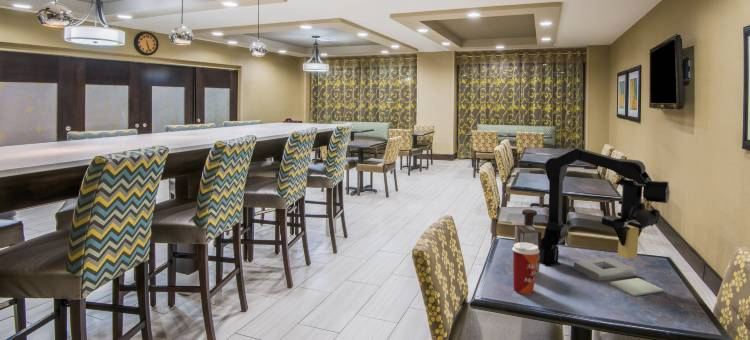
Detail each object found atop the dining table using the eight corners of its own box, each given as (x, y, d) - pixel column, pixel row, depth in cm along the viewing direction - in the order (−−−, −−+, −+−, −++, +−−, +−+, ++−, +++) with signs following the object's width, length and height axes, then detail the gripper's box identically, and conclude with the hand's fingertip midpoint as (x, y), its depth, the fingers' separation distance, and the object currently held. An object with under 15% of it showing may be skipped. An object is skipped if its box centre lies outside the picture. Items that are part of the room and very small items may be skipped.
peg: (627, 258, 159) (629, 229, 157) (617, 255, 163) (619, 226, 161) (636, 257, 160) (638, 228, 159) (626, 253, 164) (629, 225, 162)
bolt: (533, 244, 200) (535, 209, 198) (535, 248, 196) (538, 212, 193) (518, 243, 201) (521, 209, 198) (521, 247, 196) (523, 212, 194)
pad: (634, 296, 152) (634, 294, 151) (609, 283, 161) (609, 282, 161) (663, 291, 155) (663, 289, 155) (637, 279, 165) (637, 277, 164)
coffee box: (539, 277, 166) (542, 232, 163) (521, 277, 165) (524, 232, 163) (528, 267, 175) (531, 224, 172) (511, 267, 174) (514, 224, 172)
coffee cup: (533, 298, 149) (536, 251, 147) (506, 292, 154) (509, 247, 151) (539, 288, 156) (542, 244, 154) (514, 283, 161) (516, 240, 158)
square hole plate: (598, 281, 163) (598, 274, 163) (573, 268, 174) (573, 261, 174) (635, 275, 168) (635, 268, 168) (608, 263, 179) (609, 257, 179)
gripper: (629, 206, 148) (625, 255, 150) (674, 201, 154) (670, 248, 156) (601, 199, 158) (598, 245, 161) (645, 194, 164) (641, 239, 167)
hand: (627, 244), depth 161 cm, fingers closed on peg, 4 cm apart
